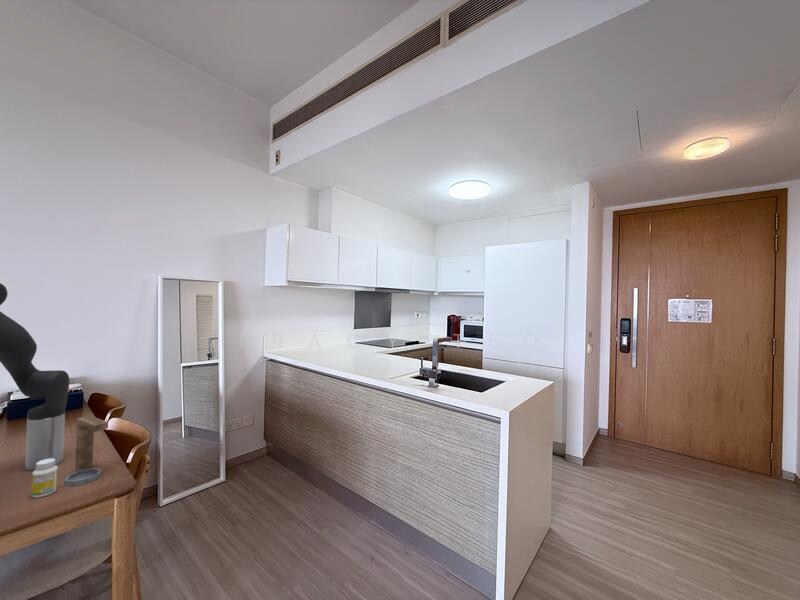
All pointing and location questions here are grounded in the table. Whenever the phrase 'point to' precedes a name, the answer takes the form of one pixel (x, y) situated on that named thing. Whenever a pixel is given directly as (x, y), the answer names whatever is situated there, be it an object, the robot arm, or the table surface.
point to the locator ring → (82, 476)
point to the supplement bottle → (44, 478)
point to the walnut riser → (86, 440)
